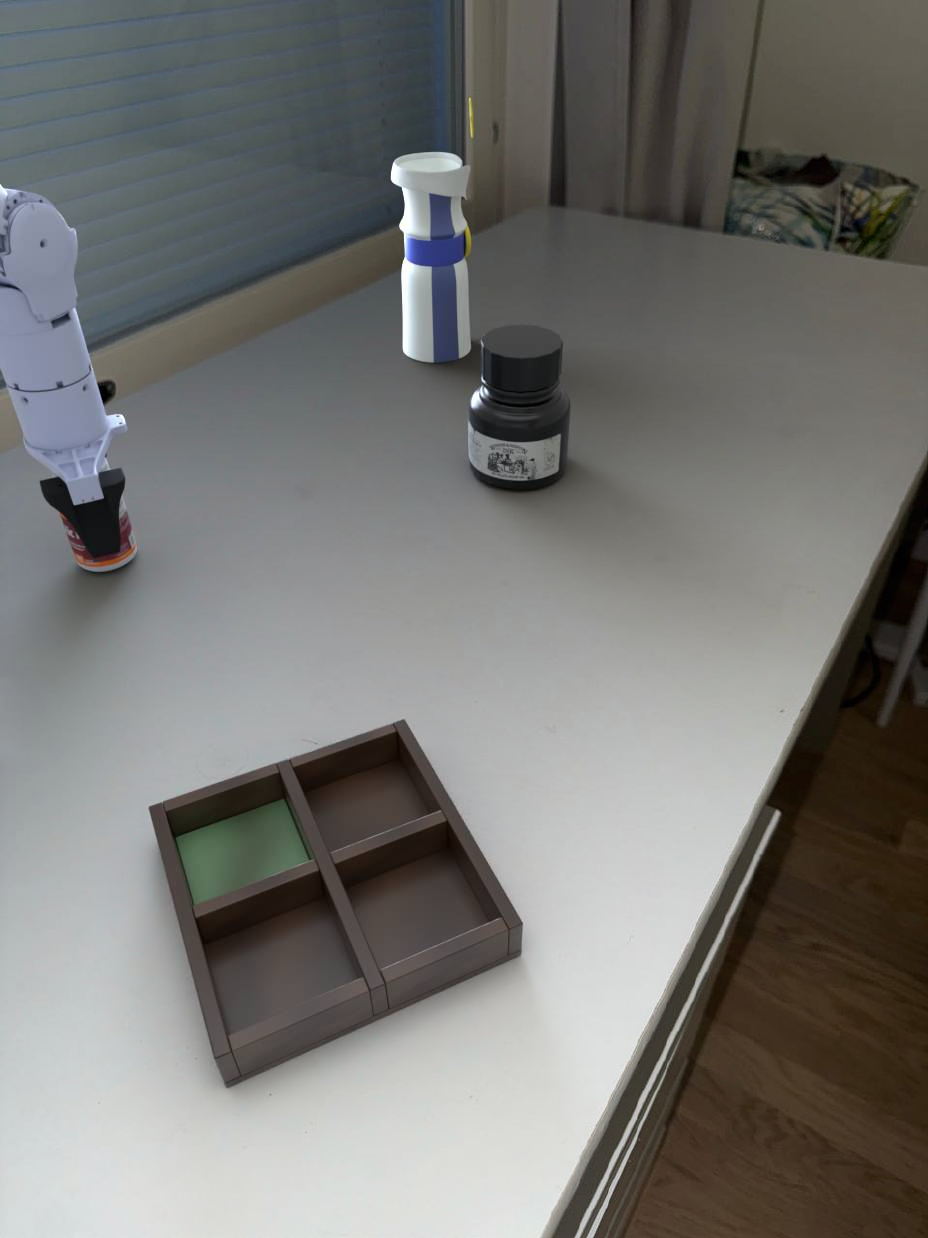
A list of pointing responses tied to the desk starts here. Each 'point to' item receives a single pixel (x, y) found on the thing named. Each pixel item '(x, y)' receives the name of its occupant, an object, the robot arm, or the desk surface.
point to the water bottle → (434, 255)
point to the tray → (327, 896)
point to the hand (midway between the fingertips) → (101, 535)
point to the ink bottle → (519, 409)
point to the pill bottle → (107, 561)
